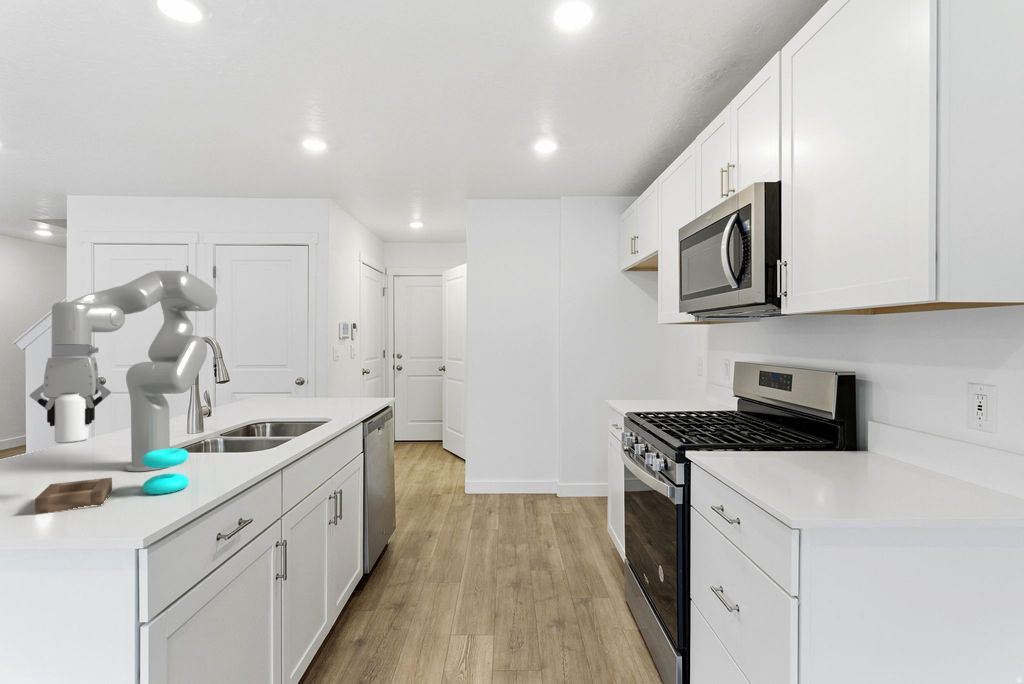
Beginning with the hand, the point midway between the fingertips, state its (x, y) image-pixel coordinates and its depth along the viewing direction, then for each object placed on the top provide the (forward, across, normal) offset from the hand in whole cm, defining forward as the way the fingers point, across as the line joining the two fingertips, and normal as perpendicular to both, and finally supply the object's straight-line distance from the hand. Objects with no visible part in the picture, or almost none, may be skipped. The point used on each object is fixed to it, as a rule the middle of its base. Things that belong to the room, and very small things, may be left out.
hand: (71, 423), depth 128 cm
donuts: (+18, -20, +4) cm, 27 cm away
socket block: (+18, -2, +6) cm, 19 cm away
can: (+4, 0, 0) cm, 4 cm away
